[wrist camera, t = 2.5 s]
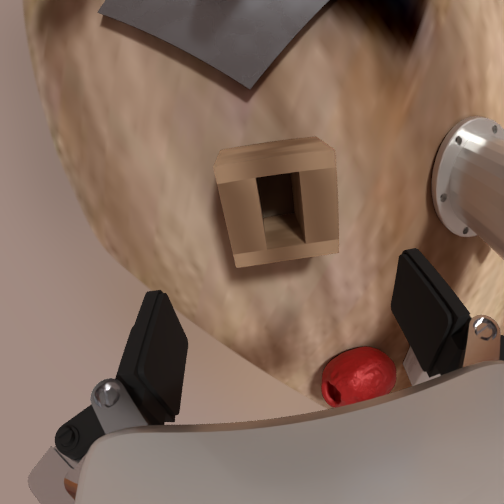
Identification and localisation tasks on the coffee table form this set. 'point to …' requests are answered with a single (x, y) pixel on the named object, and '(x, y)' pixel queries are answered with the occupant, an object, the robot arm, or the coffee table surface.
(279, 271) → the coffee table surface
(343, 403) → the pomegranate
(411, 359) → the small box
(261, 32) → the post stand
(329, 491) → the robot arm
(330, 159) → the slotted wooden cube
